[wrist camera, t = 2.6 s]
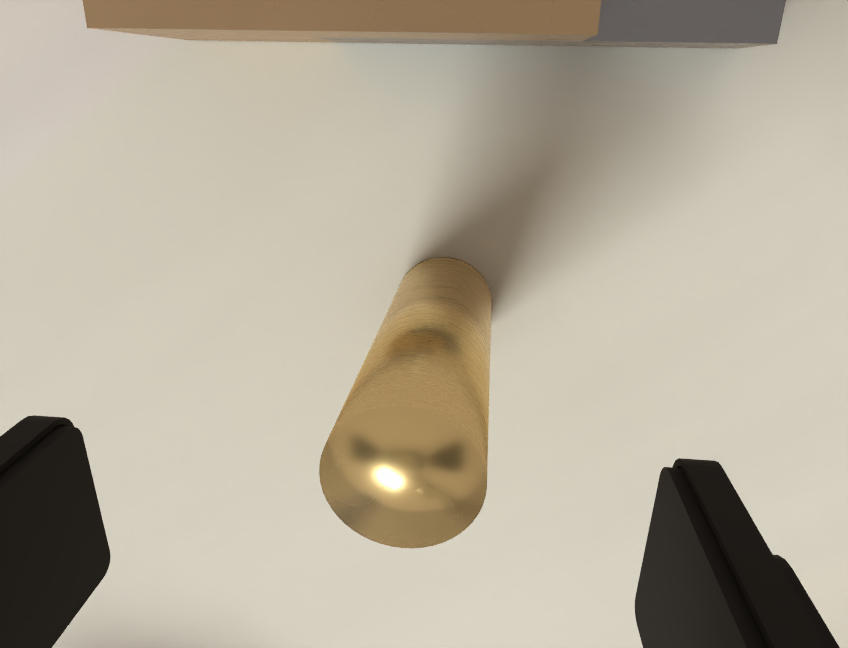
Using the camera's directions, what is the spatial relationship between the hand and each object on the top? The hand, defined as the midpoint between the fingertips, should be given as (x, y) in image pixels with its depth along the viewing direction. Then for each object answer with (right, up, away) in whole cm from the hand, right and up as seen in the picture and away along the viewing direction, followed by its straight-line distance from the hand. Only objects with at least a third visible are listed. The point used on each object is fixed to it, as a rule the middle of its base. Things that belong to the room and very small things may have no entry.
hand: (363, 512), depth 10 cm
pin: (+2, +4, +11) cm, 12 cm away
